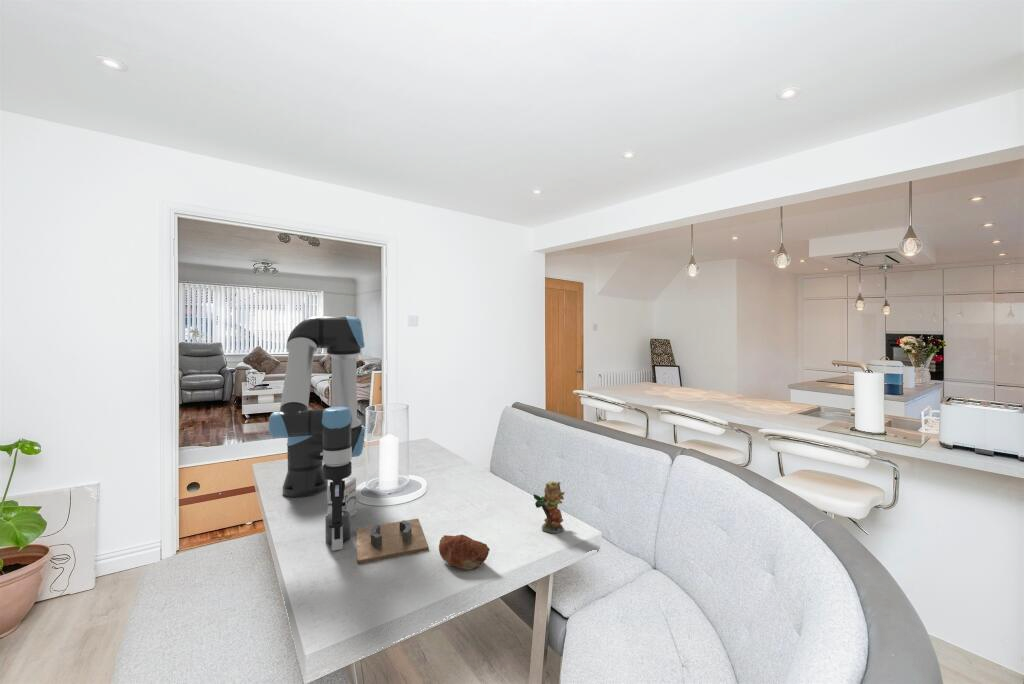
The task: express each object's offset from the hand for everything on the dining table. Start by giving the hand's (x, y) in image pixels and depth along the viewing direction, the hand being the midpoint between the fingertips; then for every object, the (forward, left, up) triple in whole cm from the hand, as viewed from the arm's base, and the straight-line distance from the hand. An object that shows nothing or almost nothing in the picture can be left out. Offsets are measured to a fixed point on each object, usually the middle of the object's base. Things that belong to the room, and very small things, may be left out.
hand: (337, 539), depth 117 cm
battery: (0, 0, 0) cm, 0 cm away
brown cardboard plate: (+6, +14, 0) cm, 15 cm away
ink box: (-14, +1, 0) cm, 14 cm away
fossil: (+24, +30, 0) cm, 38 cm away
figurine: (+16, +59, 0) cm, 61 cm away
